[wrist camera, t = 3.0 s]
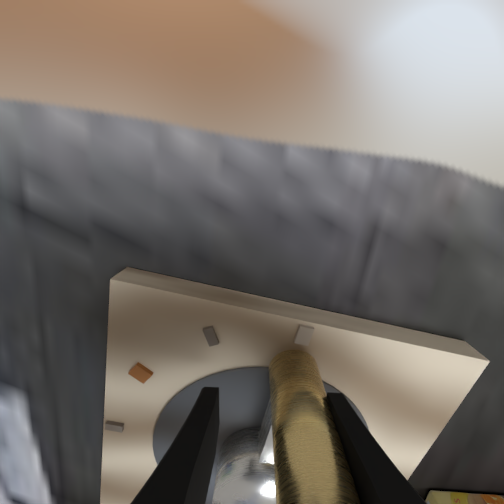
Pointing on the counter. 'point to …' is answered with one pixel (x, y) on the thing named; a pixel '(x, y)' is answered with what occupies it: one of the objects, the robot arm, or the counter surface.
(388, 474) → the robot arm
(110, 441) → the dial housing
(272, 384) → the gold and silver piece
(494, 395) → the counter surface
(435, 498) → the candy box
